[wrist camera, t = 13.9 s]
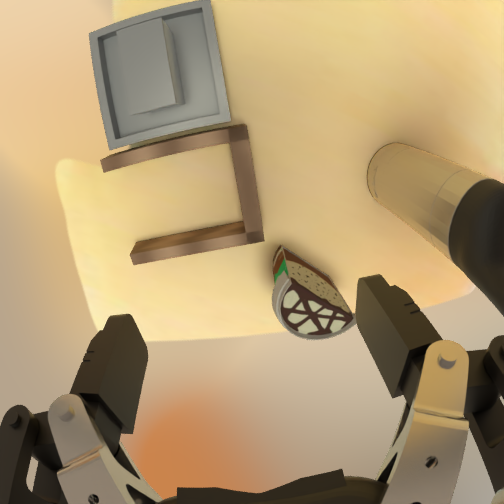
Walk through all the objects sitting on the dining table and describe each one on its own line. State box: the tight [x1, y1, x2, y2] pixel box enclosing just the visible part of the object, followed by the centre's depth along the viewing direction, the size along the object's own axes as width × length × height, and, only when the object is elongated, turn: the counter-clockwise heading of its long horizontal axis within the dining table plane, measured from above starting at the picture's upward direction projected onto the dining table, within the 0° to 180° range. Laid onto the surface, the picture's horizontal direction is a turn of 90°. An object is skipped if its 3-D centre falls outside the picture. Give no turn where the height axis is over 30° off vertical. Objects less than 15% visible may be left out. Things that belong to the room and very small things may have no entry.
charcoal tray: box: [89, 0, 231, 150], centre depth 27 cm, size 14×15×2 cm
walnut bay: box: [100, 124, 264, 265], centre depth 34 cm, size 16×14×4 cm
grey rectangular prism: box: [116, 17, 185, 116], centre depth 25 cm, size 4×9×7 cm, turn 9°
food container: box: [272, 245, 357, 340], centre depth 38 cm, size 12×6×10 cm, turn 54°
